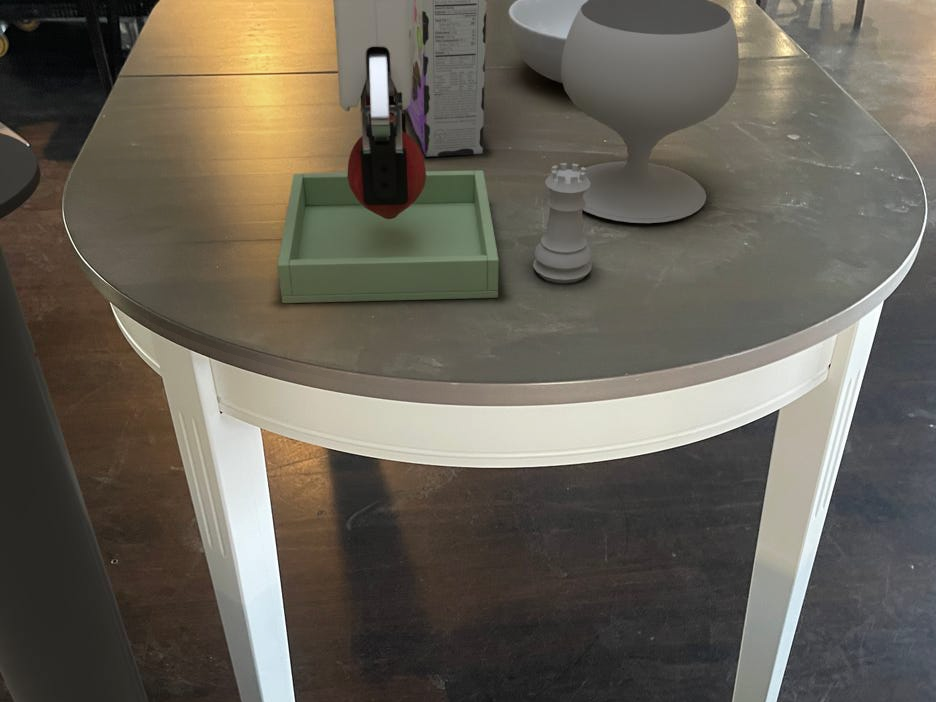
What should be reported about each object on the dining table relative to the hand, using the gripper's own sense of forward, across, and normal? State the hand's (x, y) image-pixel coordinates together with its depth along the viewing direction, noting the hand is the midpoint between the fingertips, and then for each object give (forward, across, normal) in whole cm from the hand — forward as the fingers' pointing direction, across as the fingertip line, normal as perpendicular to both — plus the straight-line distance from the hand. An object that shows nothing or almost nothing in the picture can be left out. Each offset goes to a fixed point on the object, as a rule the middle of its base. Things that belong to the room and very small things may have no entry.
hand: (386, 181), depth 76 cm
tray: (+6, 0, 0) cm, 6 cm away
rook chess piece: (+6, +4, +13) cm, 15 cm away
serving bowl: (+6, -39, +23) cm, 46 cm away
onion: (+3, 0, 0) cm, 3 cm away
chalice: (+6, -9, +21) cm, 24 cm away
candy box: (+6, -25, +5) cm, 26 cm away
